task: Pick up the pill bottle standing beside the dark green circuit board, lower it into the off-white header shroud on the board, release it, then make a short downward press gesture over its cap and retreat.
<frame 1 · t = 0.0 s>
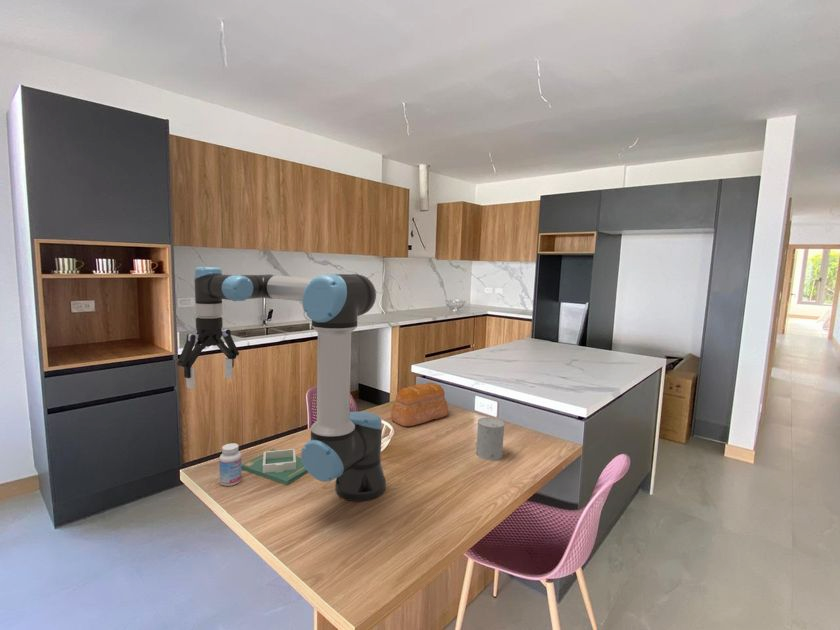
hand: (210, 382, 135), 28 cm above the table, fingers open, 13 cm apart
grey concrete cylinder: (489, 455, 155), on the table
pill bottle: (230, 482, 129), on the table
bread: (419, 418, 188), on the table
board: (279, 467, 139), on the table
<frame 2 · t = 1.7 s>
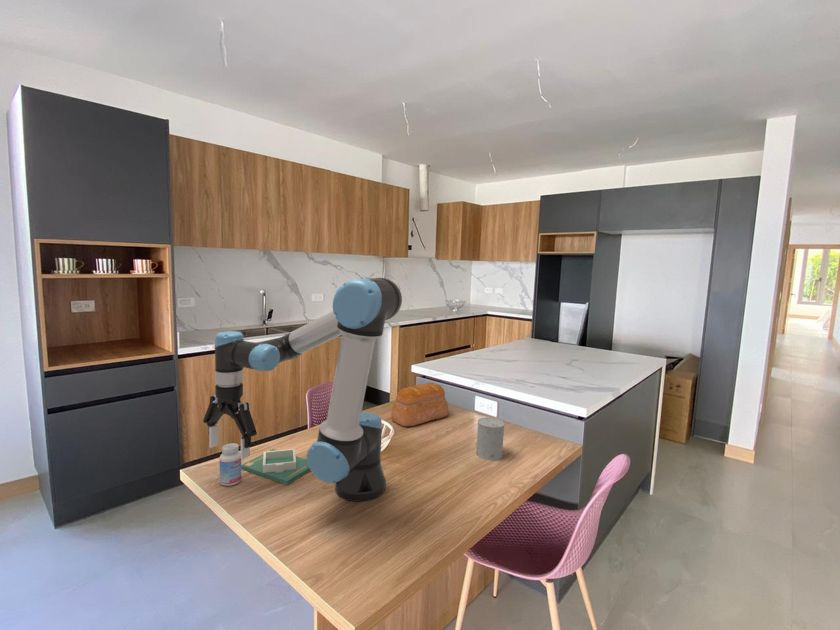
hand: (229, 451, 128), 9 cm above the table, fingers open, 13 cm apart
nothing on the table moved.
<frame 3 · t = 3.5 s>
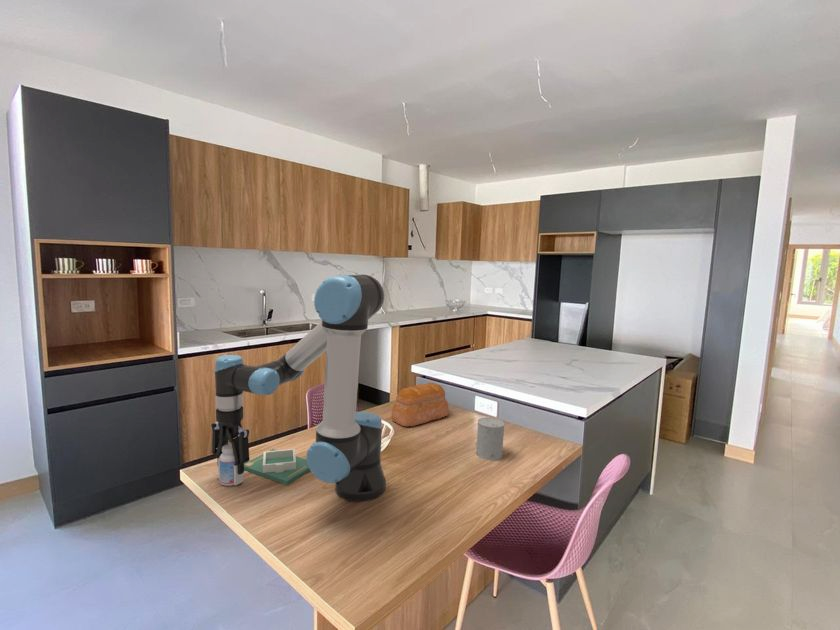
hand: (230, 480, 129), 0 cm above the table, fingers closed on pill bottle, 6 cm apart
pill bottle: (230, 482, 129), on the table, touching gripper
everything else where it was.
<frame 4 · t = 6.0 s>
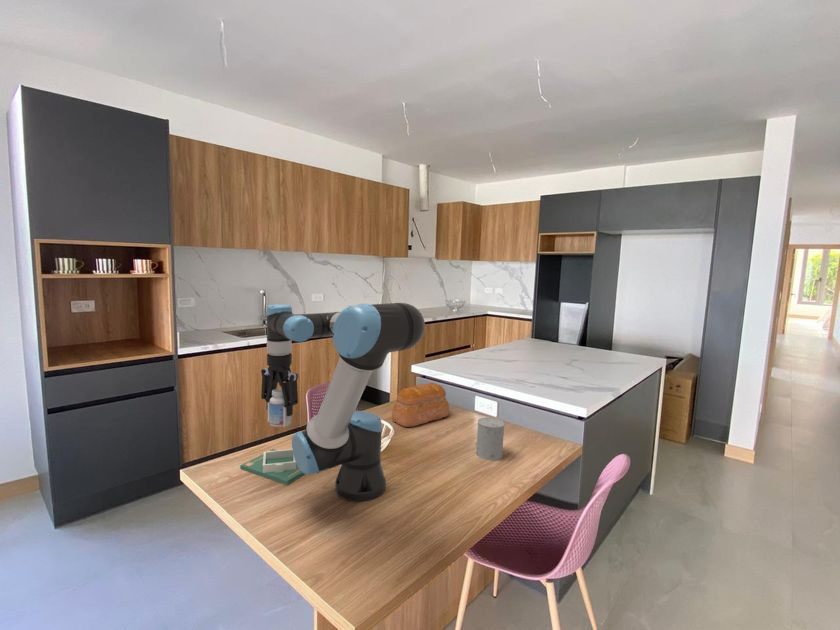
hand: (279, 422, 137), 15 cm above the table, fingers closed on pill bottle, 6 cm apart
pill bottle: (279, 424, 137), point 15 cm above the table, touching gripper
everything else where it was.
when the fingers open (4 cm above the table, at t = 8.6 s): pill bottle drops 2 cm, resting on board.
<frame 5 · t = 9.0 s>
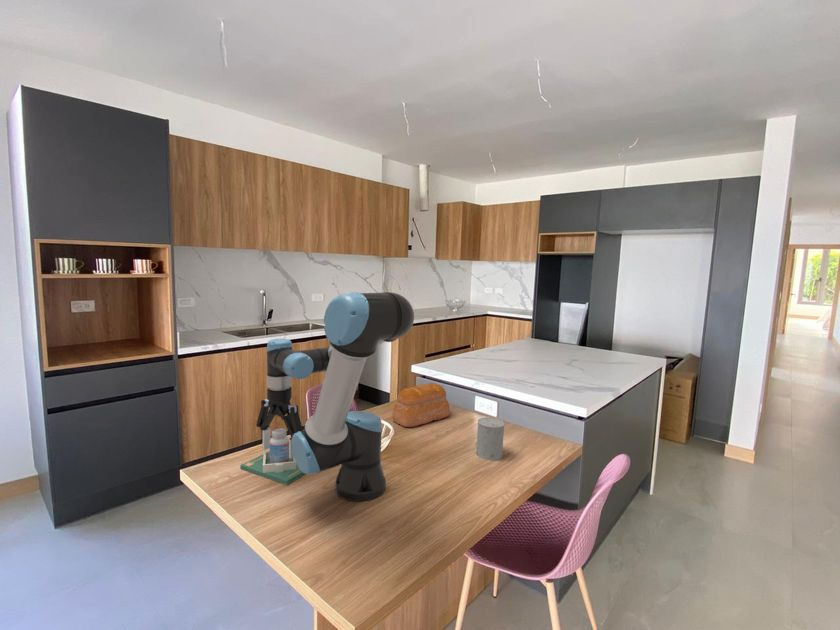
hand: (279, 452, 138), 5 cm above the table, fingers open, 11 cm apart
pill bottle: (279, 464, 139), point 1 cm above the table, touching board
everything else where it was.
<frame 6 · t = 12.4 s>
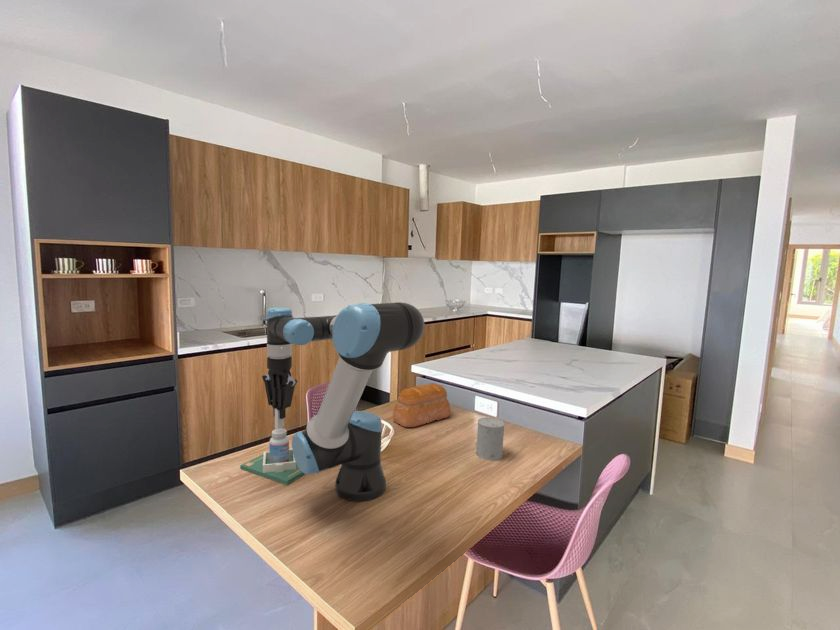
hand: (279, 427, 137), 14 cm above the table, fingers closed
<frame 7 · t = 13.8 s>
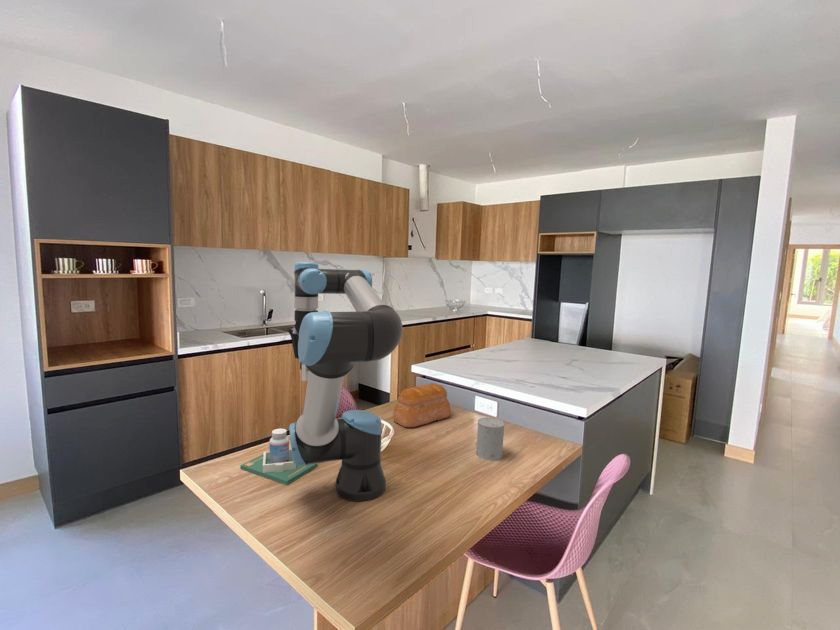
hand: (306, 379, 141), 28 cm above the table, fingers closed
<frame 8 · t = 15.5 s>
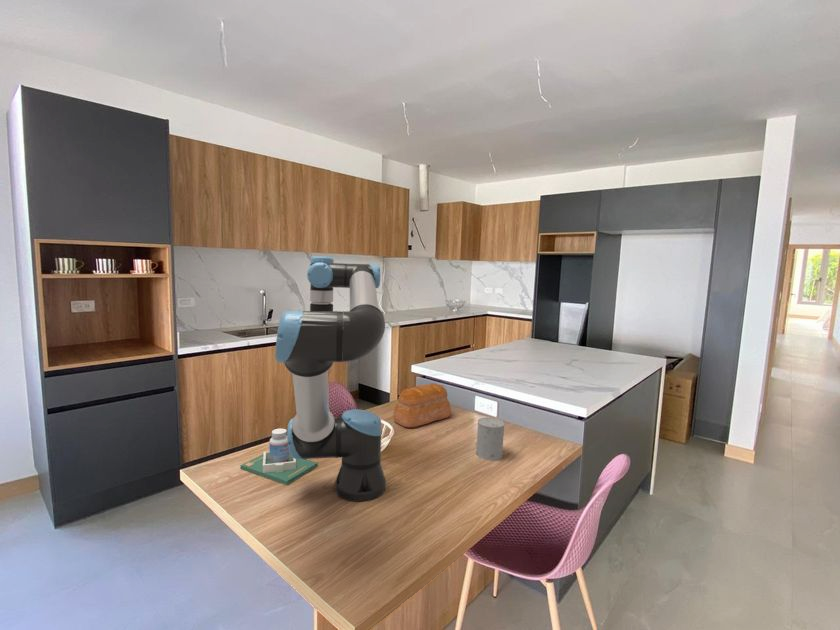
hand: (320, 371, 144), 30 cm above the table, fingers closed
at the end: pill bottle 0.1 cm off-centre on the board, point 1.0 cm above the board's base; pill bottle tilted 0°; the gripper is holding nothing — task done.
